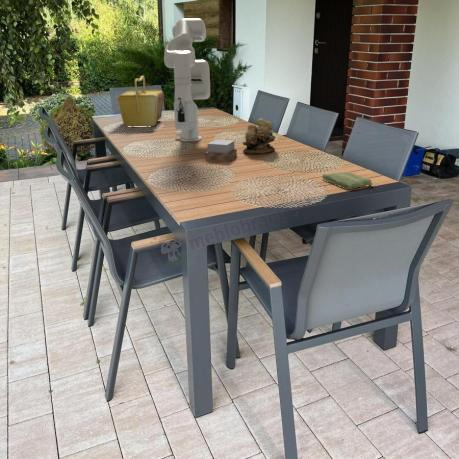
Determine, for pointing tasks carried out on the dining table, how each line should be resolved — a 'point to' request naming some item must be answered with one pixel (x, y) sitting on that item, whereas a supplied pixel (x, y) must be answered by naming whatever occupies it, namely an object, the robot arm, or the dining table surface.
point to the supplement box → (189, 117)
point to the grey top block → (221, 146)
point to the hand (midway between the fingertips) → (184, 120)
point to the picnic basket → (140, 106)
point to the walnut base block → (221, 156)
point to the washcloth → (347, 180)
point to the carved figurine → (259, 138)
